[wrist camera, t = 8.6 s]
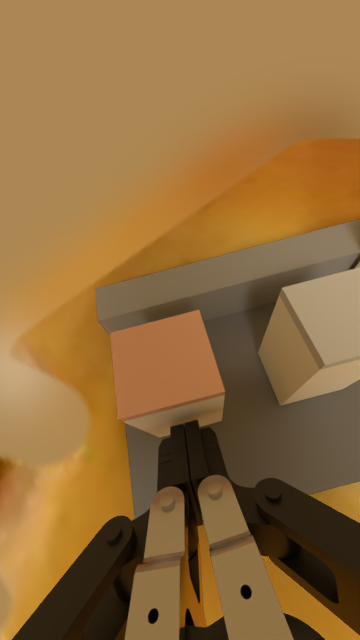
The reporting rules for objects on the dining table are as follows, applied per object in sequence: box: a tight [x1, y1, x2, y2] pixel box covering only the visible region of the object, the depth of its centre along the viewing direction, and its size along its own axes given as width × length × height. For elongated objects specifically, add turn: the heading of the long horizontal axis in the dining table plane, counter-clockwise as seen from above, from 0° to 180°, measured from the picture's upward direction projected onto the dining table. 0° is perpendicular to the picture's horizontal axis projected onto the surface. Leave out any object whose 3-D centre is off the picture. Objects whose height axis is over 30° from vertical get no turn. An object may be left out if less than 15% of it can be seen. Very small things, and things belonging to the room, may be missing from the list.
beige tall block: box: [258, 267, 360, 406], centre depth 14 cm, size 4×4×8 cm
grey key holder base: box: [96, 219, 360, 522], centre depth 17 cm, size 26×16×5 cm, turn 103°
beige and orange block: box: [110, 310, 225, 438], centre depth 14 cm, size 4×4×8 cm
